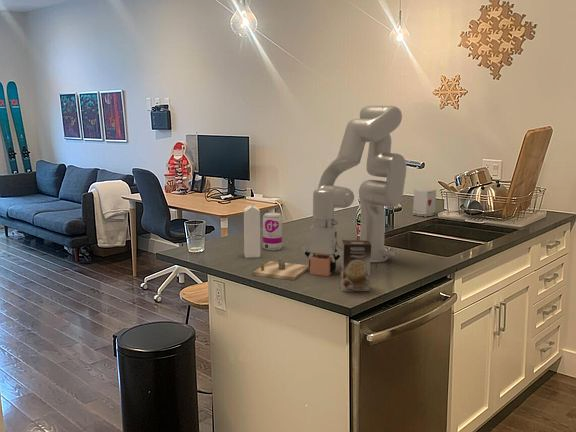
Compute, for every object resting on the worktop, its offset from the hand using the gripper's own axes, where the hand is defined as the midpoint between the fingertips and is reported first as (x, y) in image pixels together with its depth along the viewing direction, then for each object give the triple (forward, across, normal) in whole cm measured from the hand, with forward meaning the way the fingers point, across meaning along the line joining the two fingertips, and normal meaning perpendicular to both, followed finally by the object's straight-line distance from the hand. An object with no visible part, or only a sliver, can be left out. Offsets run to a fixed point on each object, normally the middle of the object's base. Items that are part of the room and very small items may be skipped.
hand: (322, 270), depth 210 cm
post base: (+1, +14, +5) cm, 15 cm away
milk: (+1, +34, -12) cm, 36 cm away
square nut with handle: (+1, 0, -3) cm, 3 cm away
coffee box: (+1, -16, +14) cm, 21 cm away
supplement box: (+1, -17, -128) cm, 129 cm away
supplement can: (+1, +31, -26) cm, 40 cm away
